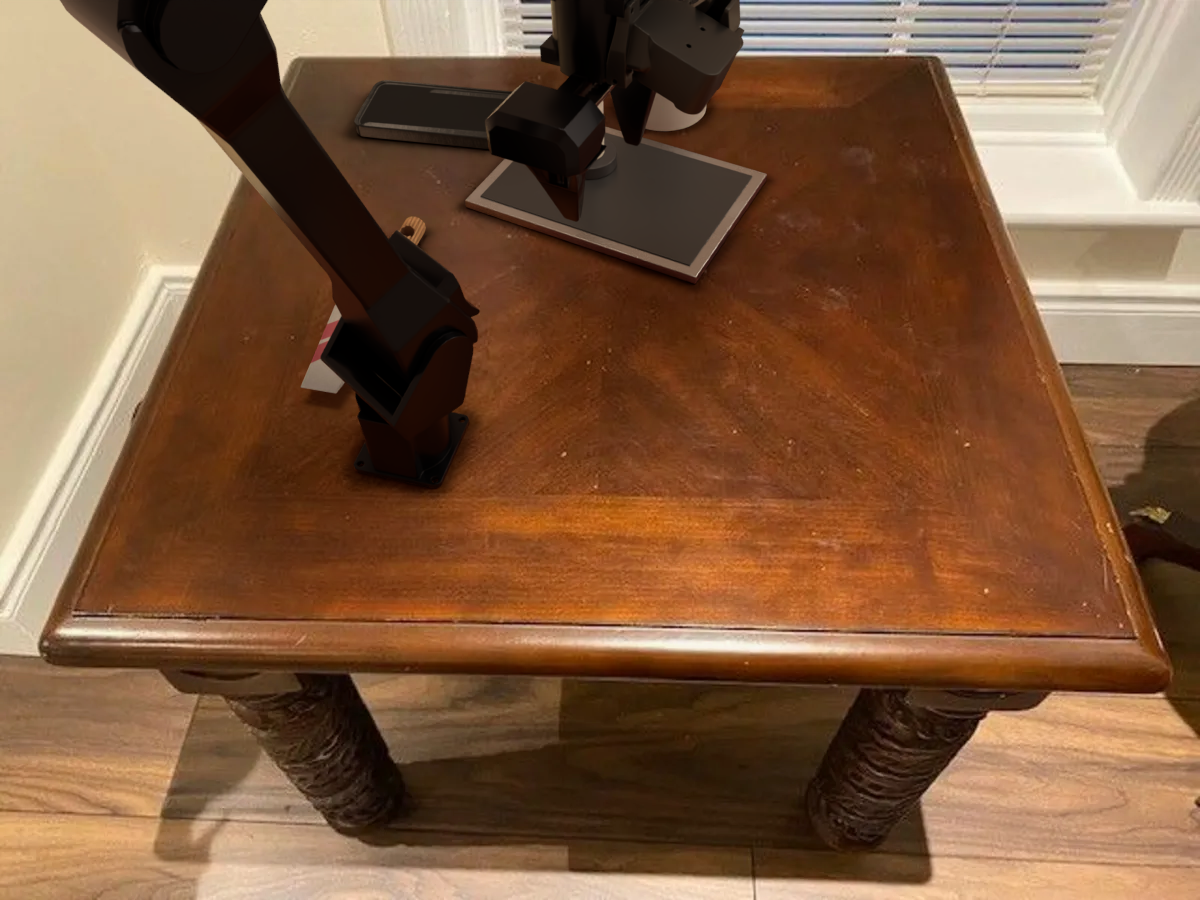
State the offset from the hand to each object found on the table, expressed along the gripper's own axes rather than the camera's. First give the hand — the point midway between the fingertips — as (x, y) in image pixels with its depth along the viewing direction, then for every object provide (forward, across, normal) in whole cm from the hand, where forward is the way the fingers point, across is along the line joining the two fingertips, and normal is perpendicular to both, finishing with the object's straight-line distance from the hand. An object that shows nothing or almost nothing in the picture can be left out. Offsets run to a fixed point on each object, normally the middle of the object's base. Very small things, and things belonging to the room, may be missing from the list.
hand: (603, 179), depth 71 cm
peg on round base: (+12, +16, +10) cm, 22 cm away
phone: (+13, +17, +26) cm, 34 cm away
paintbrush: (+13, -8, +17) cm, 23 cm away
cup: (+13, +28, +8) cm, 32 cm away
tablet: (+13, +14, +6) cm, 20 cm away
